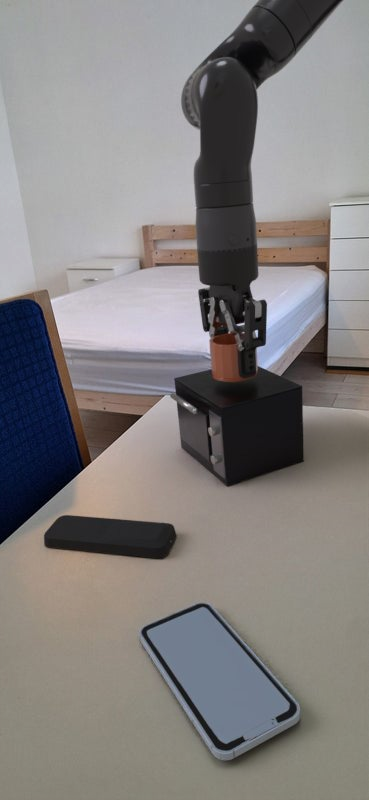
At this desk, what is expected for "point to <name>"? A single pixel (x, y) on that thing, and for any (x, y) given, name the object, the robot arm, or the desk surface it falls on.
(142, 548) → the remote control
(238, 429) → the toaster oven
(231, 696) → the smartphone
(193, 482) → the desk surface
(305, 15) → the robot arm
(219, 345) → the cup
